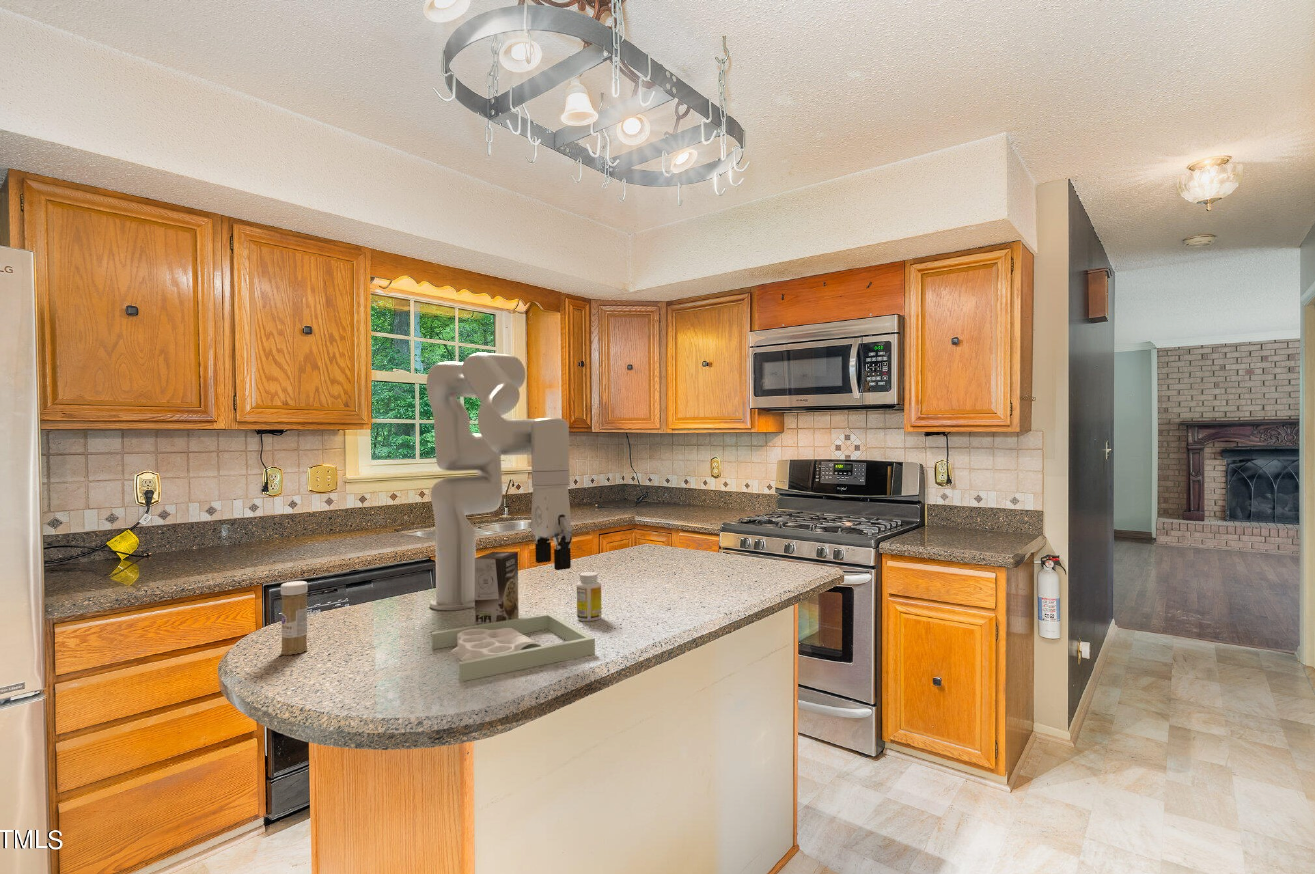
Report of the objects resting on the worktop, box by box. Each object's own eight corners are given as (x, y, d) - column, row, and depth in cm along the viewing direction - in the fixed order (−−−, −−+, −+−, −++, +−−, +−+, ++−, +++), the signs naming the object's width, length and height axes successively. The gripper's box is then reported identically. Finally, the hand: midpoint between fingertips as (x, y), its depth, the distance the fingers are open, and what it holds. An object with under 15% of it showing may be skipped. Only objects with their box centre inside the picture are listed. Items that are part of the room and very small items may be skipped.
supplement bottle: (602, 615, 150) (602, 571, 150) (600, 622, 144) (599, 576, 144) (578, 615, 150) (578, 571, 150) (575, 622, 145) (574, 576, 145)
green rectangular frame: (431, 647, 128) (431, 632, 128) (551, 626, 141) (551, 613, 141) (460, 681, 110) (460, 664, 110) (594, 654, 123) (594, 638, 123)
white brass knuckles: (549, 661, 120) (472, 679, 112) (510, 637, 135) (439, 652, 126) (549, 643, 120) (472, 660, 112) (510, 621, 135) (439, 635, 126)
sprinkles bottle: (275, 654, 125) (275, 584, 125) (296, 647, 129) (296, 579, 129) (292, 657, 123) (292, 586, 123) (313, 649, 127) (312, 581, 127)
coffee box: (502, 636, 135) (501, 558, 135) (473, 634, 136) (472, 557, 136) (520, 623, 144) (519, 551, 144) (493, 622, 145) (492, 550, 145)
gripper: (518, 479, 135) (519, 561, 135) (550, 482, 120) (552, 574, 120) (551, 477, 139) (553, 557, 139) (586, 480, 124) (588, 569, 124)
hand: (552, 565), depth 129 cm, fingers open, 9 cm apart
